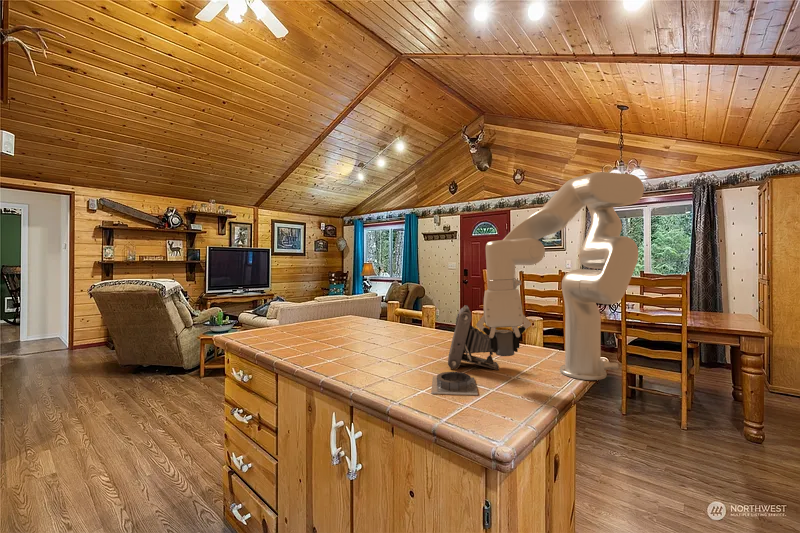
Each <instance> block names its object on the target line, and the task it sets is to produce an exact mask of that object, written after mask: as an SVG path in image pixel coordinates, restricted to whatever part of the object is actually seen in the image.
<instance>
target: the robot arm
mask: <svg viewBox="0 0 800 533" xmlns="http://www.w3.org/2000/svg"><path fill="white" fill-rule="evenodd" d="M644 191H645V186H644V183H643V181H642V179H641V178H639V177H638V176H636V175H635V174H631V173H621V172H619V173H618V172H607V171H598V172H592V173H587V174H584V175H580V176H576V177H573V178H570V179H568V180H567V181H566V182H565V183H563V184H562V186H561V187H560V188H559V189H557V191H556V192H555V194H554V195H552V197H551V198H550V199H549V200H548V201H547V202H546V203H545V204H544V205H543V206H542V207H541V208H540V209H538V210H537V211H536V212H534V213H532V214H531V215H530V216H528V217H527V218H526V219H524V220H523V221H521V222H520V223H518V224H517V225H516V226H515V227H514V228H512V229H511V231H509V233H508V234H506V236H505V237H504V238H503V239H501V240H500V239H499V240H491V241H487V243H486V244H485V260H486V261H485V262H486V282H487V285H486V286H487V290H484V296H483V314H482V316H481V317H480V319H479V320H478V322H477V323H476V324H475V325H476V327H477V329H478V330H480V331H481V332H483V333H484V334H486V335H488V336H489V337H490V348H491V349H493V354H496V352H497V349H496V338H495V335H494V334H495V330H497V328H511V330H512V331H513V334H514V353H518V349H520V337H521V335H522V334H523V333H524V332H525V331H526V330H527V329H528V328H529V327H531V326H532V322H531V320H529V319H528V317H527V316H526V315H525V314H524V313H523V305H522V299H521V294H520V291H519V290H520V289H517V287H519V286H522V280H520V279H519V280H518V279H517V277H516V266H517V265H518V266H533V265H537V264H538V263H540V262H542V260H543V258H544V257H545V254H546V249H545V245H544V244H543V243H542V242H541V241H540V239H542V238H544V237H547V236H550V235H553V234H555V233H558V232H559V231H561V230H563V229H565V228H566V227H567V226H568V224H570V222H571V221H572V220H573V219H574V218H575V217H576V215H577V214H578V213H579V212H580V211H581V210H582V209H583V208H584V207H585V206H586V207H587V210H588V211H589V215H590V218H591V220H590V221H591V222H590V226H589V228H588V232H587V234H586V236H585V238H584V241H583V243H582V246H581V248H580V250H579V253H578V254H579V255H578V259H579V260H578V261H579V263H580V264H581V265H582V266H583V267H585V268H589V269H584V268H581V269H580V268H579V269H573V270H570V271H568V272H567V273H565V275H564V276H563V277H562V280H561V291H562V296H563V301H564V311H565V312H564V316H565V318H564V319H565V320H564V321H565V323H564V324H565V326H564V328H565V330H564V331H565V332H564V333H565V334H564V335H565V336H564V338H565V340H564V341H565V342H564V343H565V345H564V353H565V355H564V357H565V359H564V360H565V361H564V362H565V363H564V364H562V365H560V367H559V372H560V373H561V374H563V375H564V376H566V377H570V378H574V379H578V380H584V381H600V380H604V379H605V378H607V371H608V370H619V366H620V365H619V363H617V362H610V361H608V360H607V361H606V360H602V359H601V352H602V351H601V350H602V349H601V348H602V347H601V334H602V333H601V328H602V327H601V326H602V324H601V323H602V320H601V313H600V312H601V311H600V310H599V308H598V305H597V304H601V305H614V304H617V303H619V302H620V301H621V300H622V298H624V296H625V294H626V292H627V290H628V287H629V284H630V282H631V279H632V277H633V274H634V272H635V269H636V266H637V264H638V260H639V247H638V246H637V244H636V242H635V240H634V239H632V238H631V237H629V236H625V235H624V236H623V235H621V232H622V229H623V224H622V220H621V218H620V217H619V216H618V214H617V212H616V210H615V208H617V207H622V206H623V207H624V206H629V205H634V204H636V203H637V202H639V200H641V198H642V197H643V195H644ZM484 323H485V325H484Z"/></svg>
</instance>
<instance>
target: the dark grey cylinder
mask: <svg viewBox="0 0 800 533" xmlns="http://www.w3.org/2000/svg"><path fill="white" fill-rule="evenodd" d="M497 330H498V329H497ZM513 333H514V332H513V330H509V329H499V330H498V331H495V338H496V349H497V352H496V353H495V355H496V356H499V357H512V356H514V355H515V351H514V334H513Z"/></svg>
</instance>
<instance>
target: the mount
mask: <svg viewBox="0 0 800 533" xmlns="http://www.w3.org/2000/svg"><path fill="white" fill-rule="evenodd" d="M431 379H432V380H431V389H430V390H431V395H455V396H456V395H457V396H460V395H461V396H479V393H478V392H479V391H478V388H477V385H476V384H477V383H476V380H475V377H471V375H469V374H467V373H465V372H461V371H443V372H440V373H438V374H437V375H436V376H432V378H431Z"/></svg>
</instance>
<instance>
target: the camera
mask: <svg viewBox="0 0 800 533" xmlns="http://www.w3.org/2000/svg"><path fill="white" fill-rule="evenodd" d="M472 319H473V318H472V312H471V310H470V307H469V306H468V305H465V304H464V306H463V307H461V308H460V309H459V312H458V313H457V315H456V319H455V327H454V332H453V336H452V339H451V345H450V348H449V353H448V359H447V365H448V367H449V368H450V369H451V370H457V369H458V368H460V366H461V362H466V363H469V364H472V365H477V366H480V367H484V368H488V369H491V370H494V371H499V370H500V367H499V365H498V364H499V363H498V362H496V361H495V360H494V359H493V357H492V356H493V355H494V352H493V349H491V348H490V337H489V336H488V335H487V334H486V333H484V331H482V330H480V329H479V328H478V327H477V328H476V327H475V326H473V325H471V322H472ZM495 331H498V329H496V330H495ZM494 335H495V334H494ZM477 353H478V354H479V353H489V355H488V356H487V357H486V359H485V358H482V357H478V356H475V355H472V354H477Z"/></svg>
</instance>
